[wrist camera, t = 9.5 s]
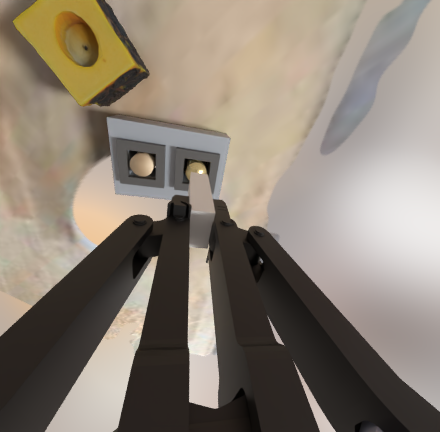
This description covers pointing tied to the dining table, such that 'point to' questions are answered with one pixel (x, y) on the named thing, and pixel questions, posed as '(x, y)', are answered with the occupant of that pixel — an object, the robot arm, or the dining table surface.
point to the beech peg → (143, 163)
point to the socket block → (163, 156)
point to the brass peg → (195, 167)
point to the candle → (83, 48)
